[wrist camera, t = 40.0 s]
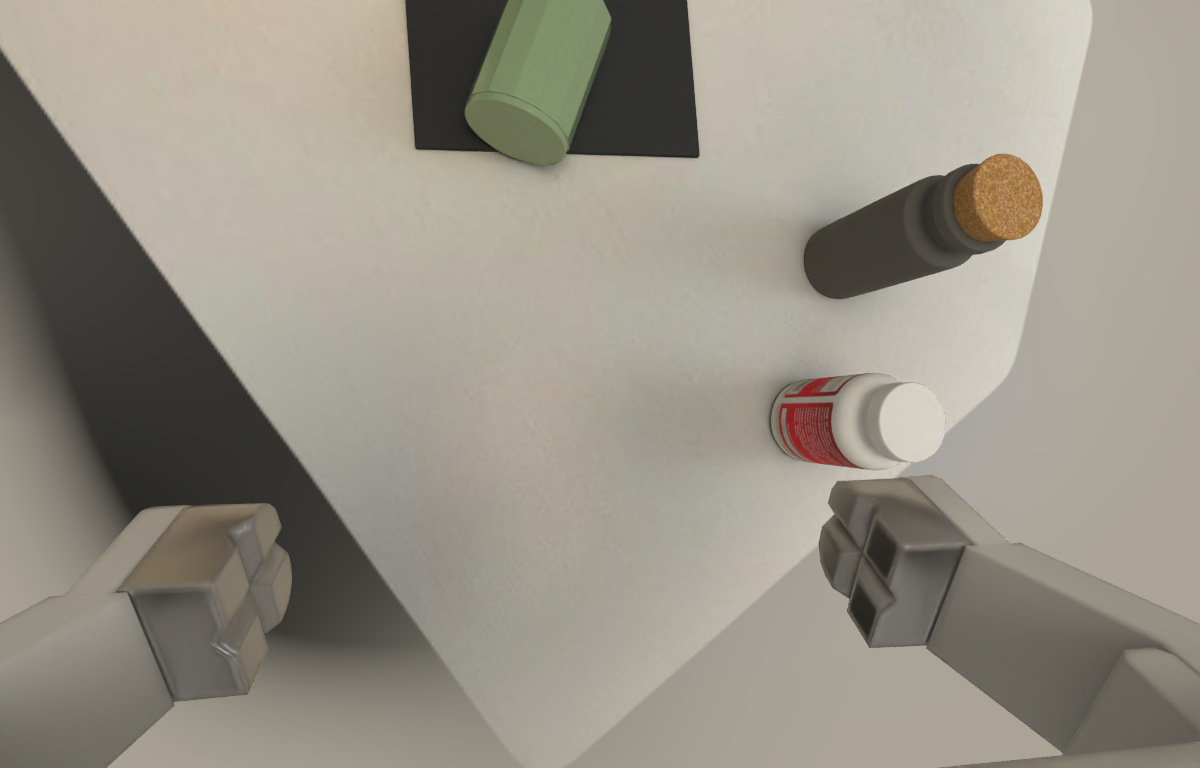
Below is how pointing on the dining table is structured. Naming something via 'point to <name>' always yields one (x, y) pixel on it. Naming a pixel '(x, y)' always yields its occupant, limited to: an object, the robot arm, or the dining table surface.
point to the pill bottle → (858, 421)
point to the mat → (617, 96)
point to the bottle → (925, 228)
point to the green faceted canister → (538, 76)
